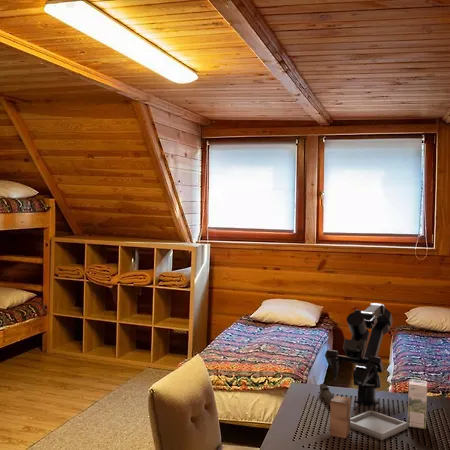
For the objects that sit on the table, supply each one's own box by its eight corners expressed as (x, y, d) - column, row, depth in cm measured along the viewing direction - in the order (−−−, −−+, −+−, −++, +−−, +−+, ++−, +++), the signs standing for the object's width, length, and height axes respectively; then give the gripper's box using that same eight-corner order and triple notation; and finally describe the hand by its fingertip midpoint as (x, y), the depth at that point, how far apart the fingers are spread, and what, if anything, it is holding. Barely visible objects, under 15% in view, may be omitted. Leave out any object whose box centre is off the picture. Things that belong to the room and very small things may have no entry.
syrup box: (425, 423, 190) (427, 380, 189) (425, 429, 184) (427, 385, 184) (407, 420, 192) (408, 378, 191) (407, 427, 186) (408, 383, 185)
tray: (370, 415, 196) (370, 410, 195) (407, 428, 185) (407, 422, 185) (345, 426, 186) (345, 420, 186) (382, 440, 176) (382, 434, 176)
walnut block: (334, 429, 184) (335, 395, 183) (350, 432, 182) (350, 398, 181) (329, 434, 180) (330, 400, 179) (345, 438, 177) (346, 403, 177)
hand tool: (342, 412, 199) (342, 399, 199) (331, 412, 199) (331, 399, 198) (328, 394, 218) (328, 381, 218) (317, 394, 217) (318, 382, 217)
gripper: (327, 326, 196) (315, 365, 186) (382, 333, 186) (372, 374, 177) (334, 344, 203) (322, 383, 193) (387, 351, 194) (378, 393, 184)
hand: (347, 383), depth 187 cm, fingers open, 9 cm apart
